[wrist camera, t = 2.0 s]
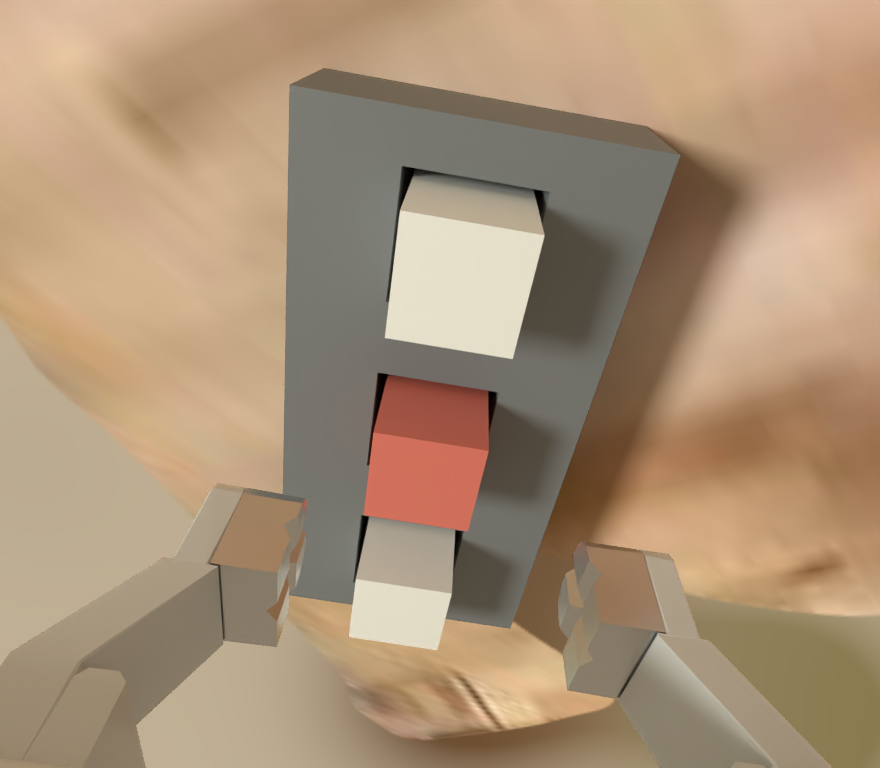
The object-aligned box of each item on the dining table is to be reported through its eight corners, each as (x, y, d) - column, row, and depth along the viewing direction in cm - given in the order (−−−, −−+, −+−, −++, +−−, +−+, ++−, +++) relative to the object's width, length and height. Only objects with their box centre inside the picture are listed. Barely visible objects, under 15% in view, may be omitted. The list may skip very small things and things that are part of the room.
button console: (646, 126, 24) (680, 155, 20) (507, 559, 38) (510, 628, 34) (323, 68, 24) (289, 85, 20) (303, 527, 38) (281, 593, 34)
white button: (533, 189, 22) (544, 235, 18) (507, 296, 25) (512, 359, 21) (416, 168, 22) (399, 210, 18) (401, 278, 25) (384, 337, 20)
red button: (488, 379, 27) (488, 451, 23) (470, 454, 29) (468, 531, 25) (390, 363, 27) (373, 432, 23) (380, 440, 29) (363, 515, 25)
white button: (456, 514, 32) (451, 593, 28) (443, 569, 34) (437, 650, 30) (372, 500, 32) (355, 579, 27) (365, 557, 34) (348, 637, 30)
